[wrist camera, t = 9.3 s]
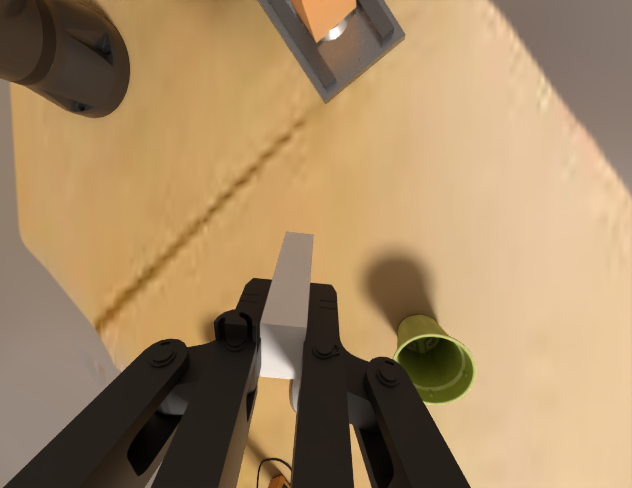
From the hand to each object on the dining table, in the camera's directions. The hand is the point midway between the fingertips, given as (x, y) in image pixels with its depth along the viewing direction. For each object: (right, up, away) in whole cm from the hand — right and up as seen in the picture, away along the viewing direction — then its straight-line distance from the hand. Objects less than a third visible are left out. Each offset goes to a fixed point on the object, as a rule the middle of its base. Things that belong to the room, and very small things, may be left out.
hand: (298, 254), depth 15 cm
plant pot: (+17, -13, +25) cm, 32 cm away
